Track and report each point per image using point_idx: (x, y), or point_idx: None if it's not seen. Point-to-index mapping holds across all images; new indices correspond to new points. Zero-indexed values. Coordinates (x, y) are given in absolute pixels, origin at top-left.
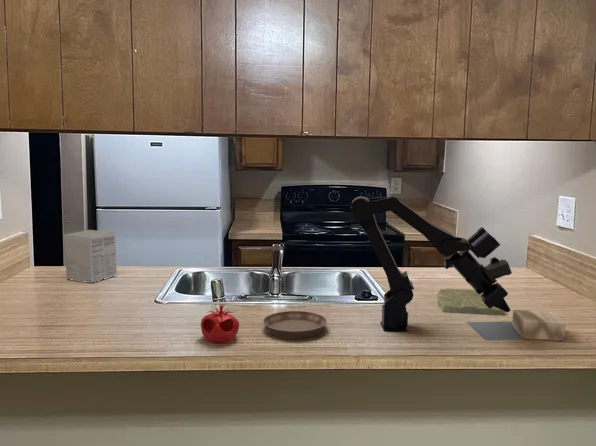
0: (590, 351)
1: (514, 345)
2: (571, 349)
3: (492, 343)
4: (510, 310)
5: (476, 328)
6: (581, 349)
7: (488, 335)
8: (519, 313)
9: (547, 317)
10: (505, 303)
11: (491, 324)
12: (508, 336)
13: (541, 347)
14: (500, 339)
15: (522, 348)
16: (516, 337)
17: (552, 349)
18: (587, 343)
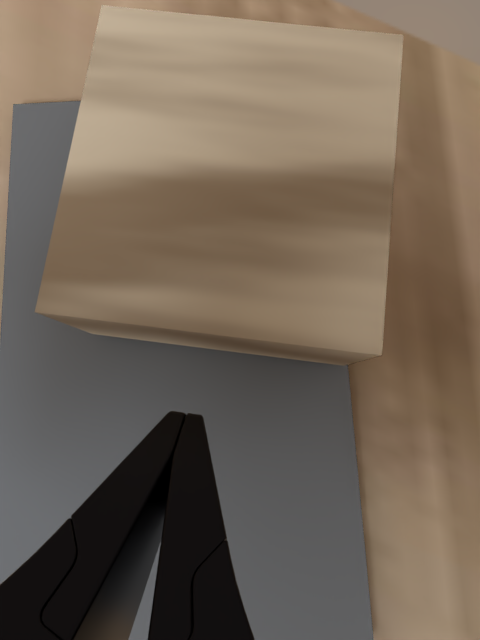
0: (460, 56)
1: (417, 446)
2: (443, 136)
3: (395, 592)
4: (201, 415)
5: (133, 629)
6: (437, 86)
7: (280, 585)
8: (145, 296)
9: (253, 103)
10: (221, 520)
11: (49, 471)
12: (292, 439)
13: (432, 288)
14: (357, 523)
15: (463, 414)
16: (309, 390)
17: (457, 238)
18: (344, 18)
